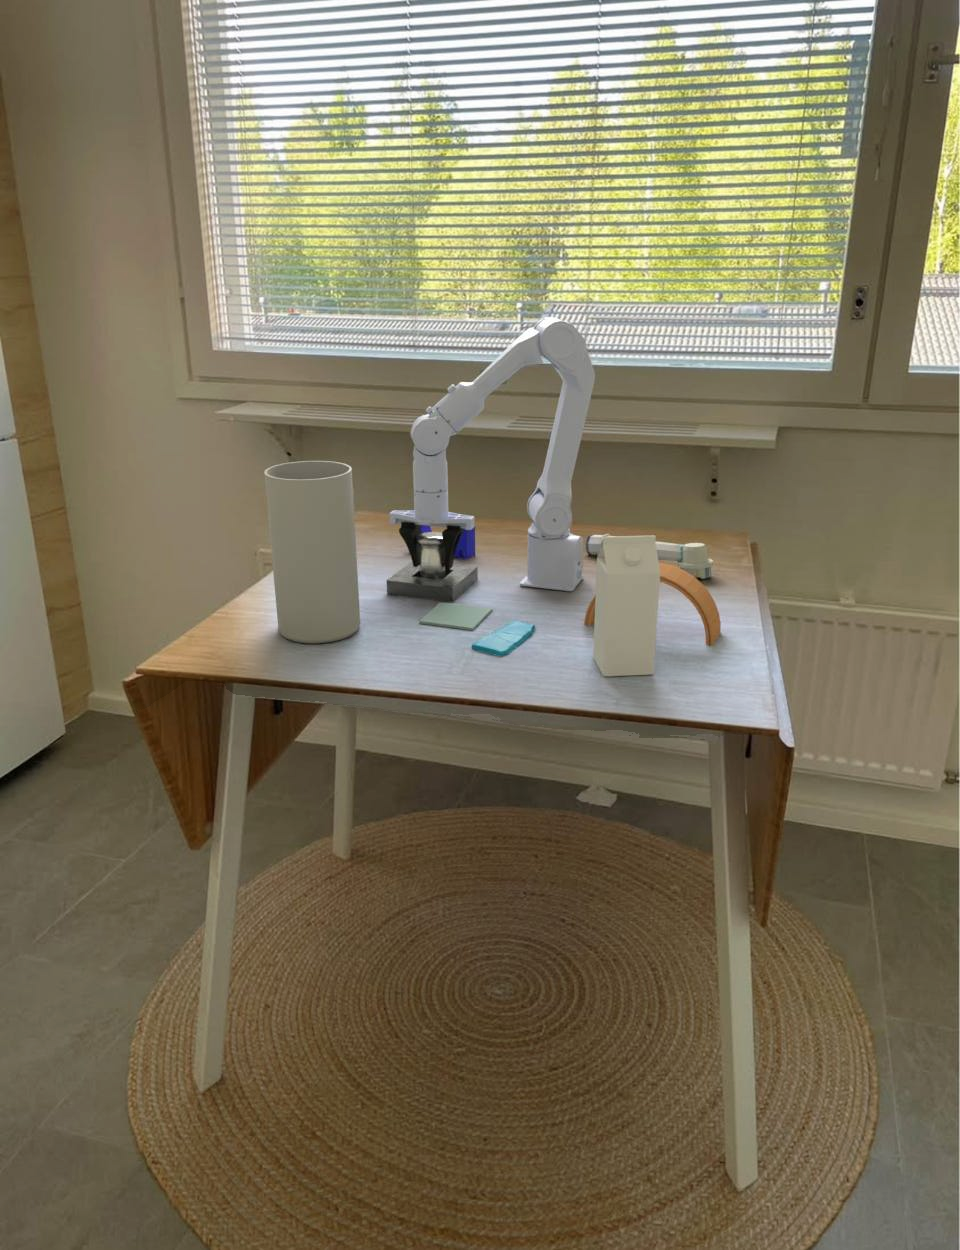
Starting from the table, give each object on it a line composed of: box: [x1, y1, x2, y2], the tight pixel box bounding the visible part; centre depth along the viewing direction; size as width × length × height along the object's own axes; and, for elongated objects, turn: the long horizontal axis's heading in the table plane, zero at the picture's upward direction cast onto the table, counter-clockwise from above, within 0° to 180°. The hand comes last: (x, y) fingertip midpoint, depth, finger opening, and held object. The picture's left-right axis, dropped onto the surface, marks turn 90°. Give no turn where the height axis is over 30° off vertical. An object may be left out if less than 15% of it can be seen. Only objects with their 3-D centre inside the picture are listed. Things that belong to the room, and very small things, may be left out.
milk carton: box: [592, 534, 661, 677], centre depth 132 cm, size 7×7×19 cm
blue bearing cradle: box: [421, 525, 476, 560], centre depth 184 cm, size 12×4×6 cm, turn 60°
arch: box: [584, 562, 721, 647], centre depth 147 cm, size 6×20×10 cm, turn 64°
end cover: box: [416, 531, 446, 580], centre depth 165 cm, size 5×5×9 cm
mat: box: [419, 601, 493, 631], centre depth 154 cm, size 9×9×1 cm
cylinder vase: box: [263, 460, 361, 645], centre depth 144 cm, size 12×12×25 cm
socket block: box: [385, 561, 479, 603], centre depth 167 cm, size 12×12×2 cm
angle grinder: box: [585, 533, 714, 580], centre depth 177 cm, size 5×7×25 cm
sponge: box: [471, 619, 536, 657], centre depth 145 cm, size 2×12×6 cm
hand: (432, 566), depth 166 cm, fingers closed on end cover, 5 cm apart
